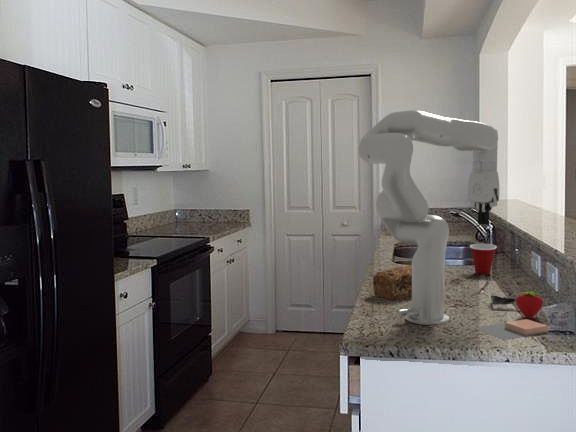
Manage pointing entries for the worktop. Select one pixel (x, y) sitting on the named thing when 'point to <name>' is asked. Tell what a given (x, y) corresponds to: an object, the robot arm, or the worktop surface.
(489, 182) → the robot arm
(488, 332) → the mat
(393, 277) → the bread
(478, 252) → the plastic cup
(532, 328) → the tile
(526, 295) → the strawberry
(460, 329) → the worktop surface
